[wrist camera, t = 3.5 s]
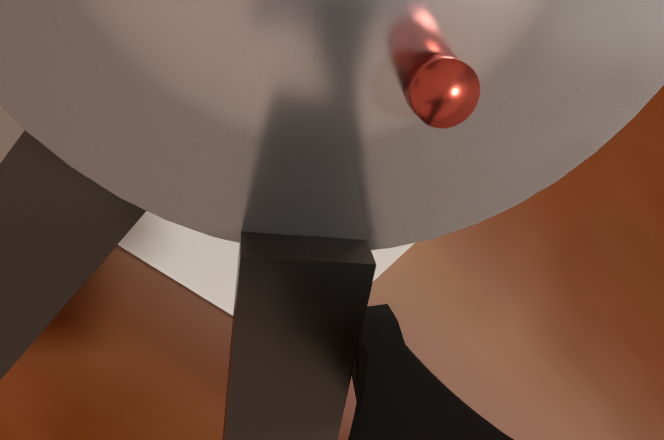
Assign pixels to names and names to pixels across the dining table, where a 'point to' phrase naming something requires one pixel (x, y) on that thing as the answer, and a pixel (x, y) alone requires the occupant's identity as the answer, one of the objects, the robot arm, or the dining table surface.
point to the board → (186, 246)
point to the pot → (49, 239)
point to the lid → (322, 142)
